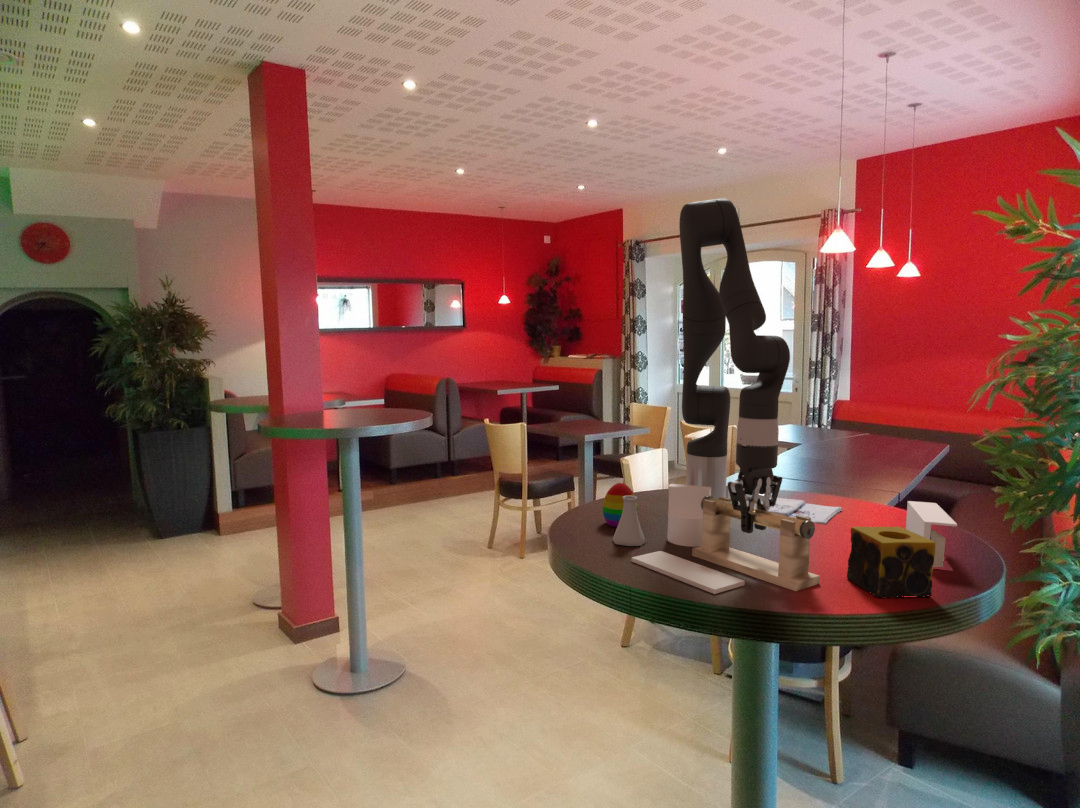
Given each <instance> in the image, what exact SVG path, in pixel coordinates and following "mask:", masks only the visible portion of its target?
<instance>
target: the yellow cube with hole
mask: <svg viewBox="0 0 1080 808" xmlns="http://www.w3.org/2000/svg"><path fill="white" fill-rule="evenodd" d="M850 545H851V546H850V548H851V549H850V553H849V557H848V560H847V571H846V572H847V573H846V579H847V578H848V579H847V580H849V579H850V580H851V581H850V580H849V581H850V582H852V581H853V582H854V583H856V584H857V586H858V585H859V586H860V587H859V586H858V587H859V588H861V587H862V589H863V590H864V589H865V590H864V591H866V590H867V591H866V592H868V591H869V592H871V593H872V594H874V595H873V596H874V597H875V596H876V597H875V598H877V597H897V596H898V597H902V596H903V597H904V596H927V595H929V596H931V597H932V590H933V589H932V588H933V571H934V570H933V563H934V557H935V542H933V541H931V540H929V539H927V538H925V537H922V536H920V535H918V534H916V533H913V532H911V531H908V530H906V528H904V527H902V526H851V528H850ZM853 582H852V583H853ZM856 584H855V585H856ZM869 592H868V593H869ZM871 593H870V594H871ZM872 594H871V595H872Z"/></svg>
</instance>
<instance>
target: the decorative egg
mask: <svg viewBox="0 0 1080 808" xmlns="http://www.w3.org/2000/svg"><path fill="white" fill-rule="evenodd" d="M623 496H636V495H635V494H634V491H633V490H632V488H630V487H629V486H628V485H627V484H626V483H623V482H618V483H615V484H613V485H612V486H611V487H609V489H608V491H607V492H606V494H605V496H604V499H603V502H602V515H603V518H604V520H605V522H606V523H607V525H609V526H610V527H613V528H617V527H618V524H619V521H620V518H621V516H622V512H623V507H624V500H623ZM637 502H638V501H637V500H636V510H637V511H638V503H637Z"/></svg>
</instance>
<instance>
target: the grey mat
mask: <svg viewBox="0 0 1080 808" xmlns="http://www.w3.org/2000/svg"><path fill="white" fill-rule="evenodd" d="M630 561H631V563H635V564H636V565H640V566H642V567H644V568H646V569H648V570H649V569H650V570H653V571H655V572H657V573H660V574H661V575H664V576H665V575H666V576H667V577H670V578H672V579H674V580H677V581H680V582H683V583H685V584H687V585H691V586H693V587H695V588H697V589H700V590H704V591H706V592H708V593H711V594H713V595H716V594H719V593H723V592H726V591H727V592H728V591H729V590H730V591H731V590H734V589H737V588H739V587H743V586H745V585H746V581H745V580H743V579H740V578H738V577H735V576H732V575H729V574H727V573H724V572H721V571H718V570H717V569H713V568H710V567H708V566H704V565H702V564H700V563H696V562H694V561H690V560H688V559H684V558H683V557H679V556H677V555H674V554H670V553H668V552H665V551H662V550H658V551H654V552H649V553H644V554H641V555H637V556H632V557H631V560H630Z"/></svg>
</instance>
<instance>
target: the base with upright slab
mask: <svg viewBox="0 0 1080 808" xmlns="http://www.w3.org/2000/svg"><path fill="white" fill-rule="evenodd" d="M705 496H711V487H706V486H693V485H686V484H681V483H679V484H676V483H670V484H669V485H668V511H667V515H668V517H667V541H668V542H669V543H671V544H672V545H673V544H674V545H677V546H682V547H683V546H684V547H692V548H696V547H700V546H702V522H703V510H702V508H701V501H702V499H703V498H704V497H705Z"/></svg>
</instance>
